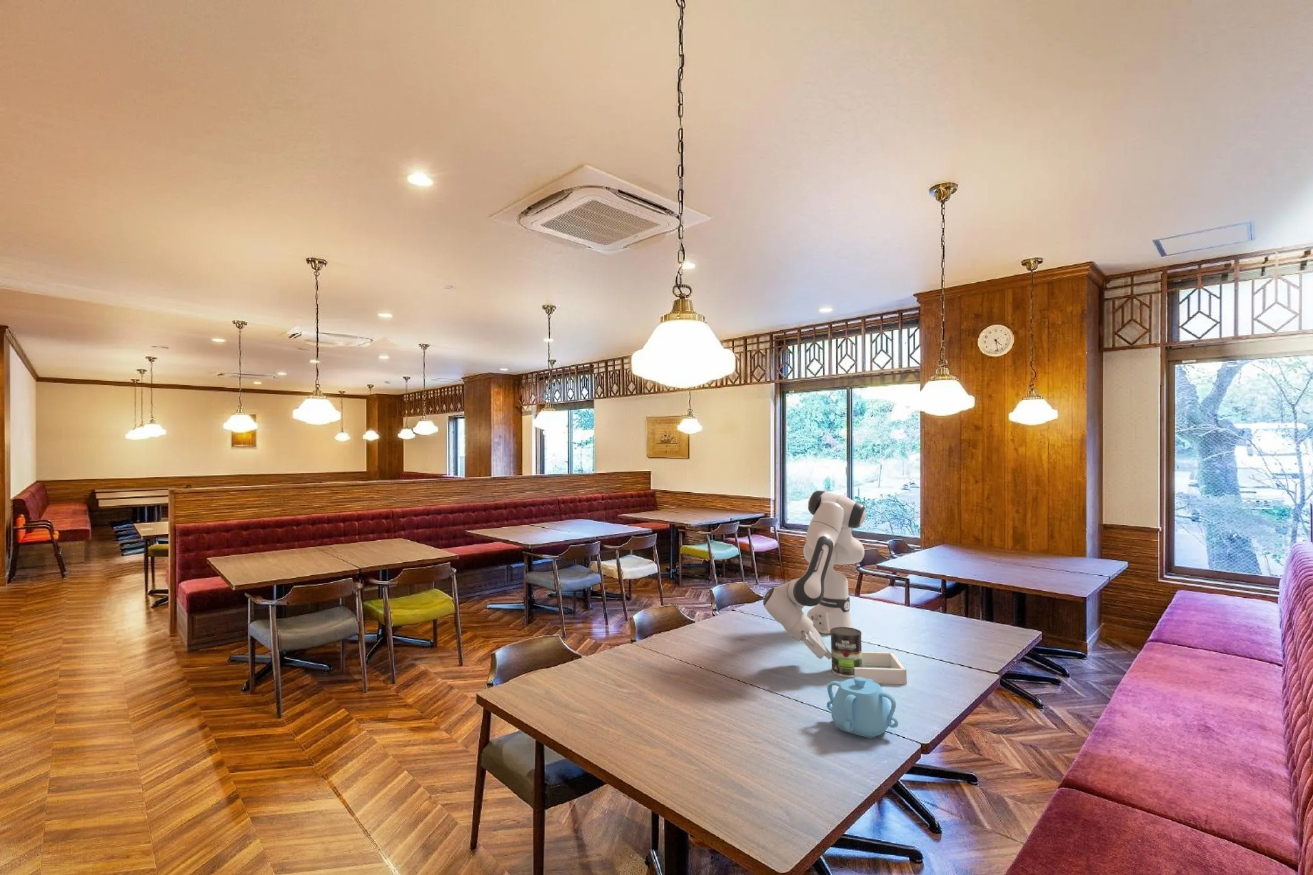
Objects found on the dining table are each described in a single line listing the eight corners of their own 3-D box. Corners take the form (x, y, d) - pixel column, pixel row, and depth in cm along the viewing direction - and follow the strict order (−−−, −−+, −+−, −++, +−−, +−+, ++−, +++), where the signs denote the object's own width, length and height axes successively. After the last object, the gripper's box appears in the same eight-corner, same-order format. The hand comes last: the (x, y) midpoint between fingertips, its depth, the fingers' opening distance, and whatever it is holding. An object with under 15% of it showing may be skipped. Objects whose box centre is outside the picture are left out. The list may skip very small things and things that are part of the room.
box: (855, 682, 189) (854, 668, 189) (845, 663, 206) (845, 651, 206) (906, 684, 186) (906, 670, 186) (893, 665, 203) (892, 652, 204)
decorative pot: (824, 715, 165) (822, 668, 166) (880, 714, 165) (877, 666, 165) (840, 743, 149) (838, 690, 149) (903, 742, 148) (900, 689, 149)
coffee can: (862, 679, 191) (861, 636, 192) (830, 675, 195) (829, 634, 195) (863, 668, 201) (861, 627, 201) (832, 665, 204) (831, 625, 205)
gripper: (810, 630, 190) (841, 660, 188) (804, 613, 210) (832, 641, 208) (797, 643, 190) (828, 674, 189) (792, 625, 211) (820, 653, 209)
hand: (830, 656), depth 199 cm, fingers closed
